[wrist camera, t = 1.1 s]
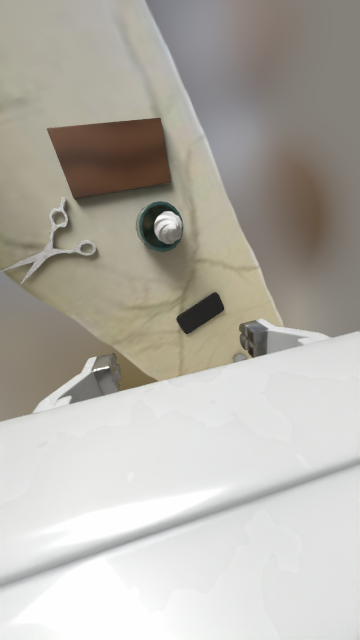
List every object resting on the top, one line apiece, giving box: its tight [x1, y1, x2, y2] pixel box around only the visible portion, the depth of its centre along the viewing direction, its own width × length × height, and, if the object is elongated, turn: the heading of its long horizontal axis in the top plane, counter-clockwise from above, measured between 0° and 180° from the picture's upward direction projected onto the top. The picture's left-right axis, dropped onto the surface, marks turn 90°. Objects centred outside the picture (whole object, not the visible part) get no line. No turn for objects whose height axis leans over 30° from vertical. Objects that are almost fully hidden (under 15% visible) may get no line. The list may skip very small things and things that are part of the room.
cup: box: [136, 201, 183, 252], centre depth 42 cm, size 10×10×6 cm
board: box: [47, 118, 171, 199], centre depth 36 cm, size 10×20×1 cm, turn 100°
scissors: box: [0, 197, 96, 286], centre depth 39 cm, size 11×1×20 cm
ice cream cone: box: [154, 211, 182, 244], centre depth 37 cm, size 6×6×15 cm
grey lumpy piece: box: [234, 354, 247, 363], centre depth 70 cm, size 5×7×8 cm
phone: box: [177, 293, 224, 334], centre depth 58 cm, size 7×1×15 cm
